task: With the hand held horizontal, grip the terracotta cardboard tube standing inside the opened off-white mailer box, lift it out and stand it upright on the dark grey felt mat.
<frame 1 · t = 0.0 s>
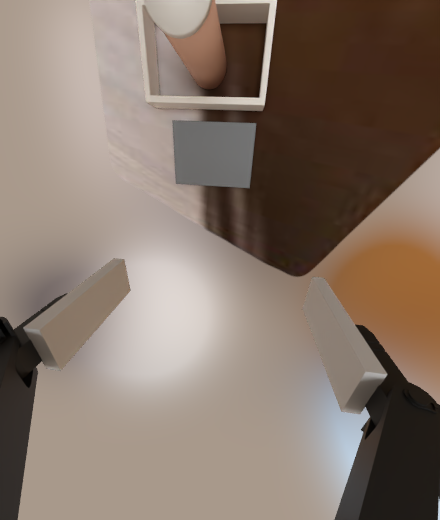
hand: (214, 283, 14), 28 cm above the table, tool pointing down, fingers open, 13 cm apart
tube: (197, 37, 23), in the mailer
felt mat: (213, 155, 35), on the table
mailer: (208, 66, 30), on the table
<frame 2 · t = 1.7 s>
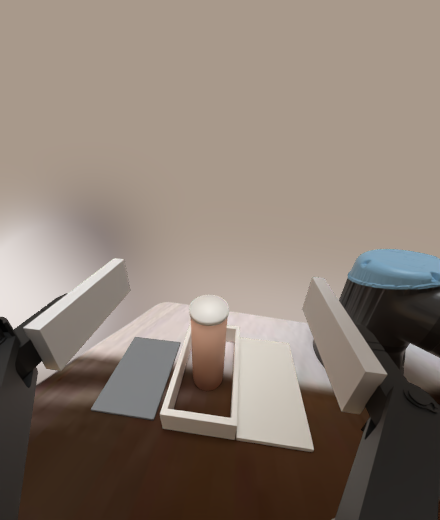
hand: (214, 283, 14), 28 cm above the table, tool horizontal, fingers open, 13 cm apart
tube: (208, 345, 33), in the mailer
felt mat: (142, 371, 37), on the table
mailer: (208, 375, 36), on the table
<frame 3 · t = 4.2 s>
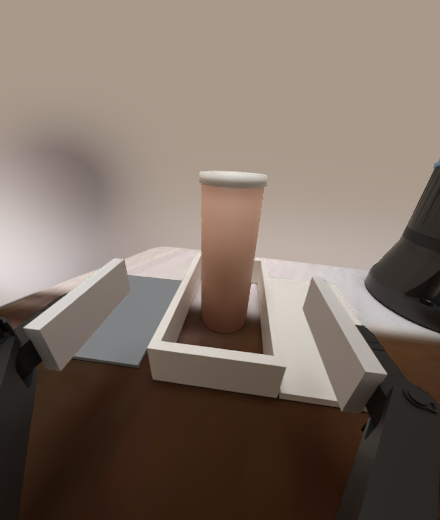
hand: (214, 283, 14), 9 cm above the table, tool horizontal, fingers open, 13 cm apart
tube: (227, 257, 21), in the mailer
felt mat: (127, 310, 25), on the table
mailer: (223, 315, 25), on the table
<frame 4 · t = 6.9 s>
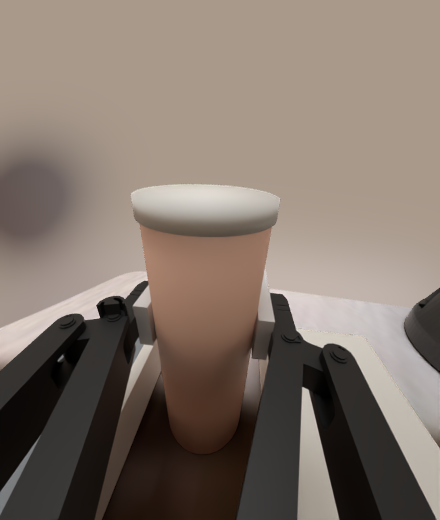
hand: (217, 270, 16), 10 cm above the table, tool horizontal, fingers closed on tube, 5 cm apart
tube: (205, 334, 12), in the mailer, touching gripper
felt mat: (52, 399, 16), on the table
mailer: (204, 407, 16), on the table
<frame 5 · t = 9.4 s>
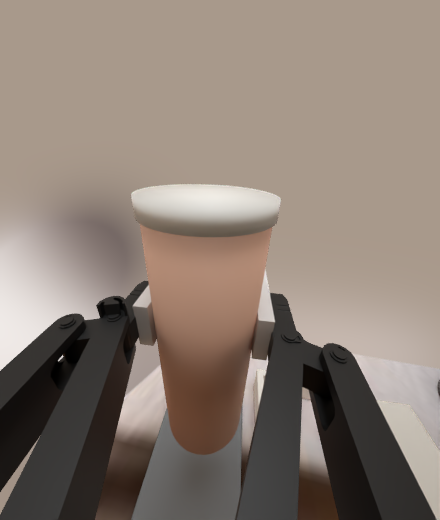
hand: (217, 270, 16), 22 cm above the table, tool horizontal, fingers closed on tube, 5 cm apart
tube: (206, 334, 12), point 21 cm above the table, touching gripper
felt mat: (195, 467, 22), on the table
mailer: (305, 474, 22), on the table
when the fingers open (11 cm above the table, at t = 12.3 s): tube drops 1 cm, resting on felt mat.
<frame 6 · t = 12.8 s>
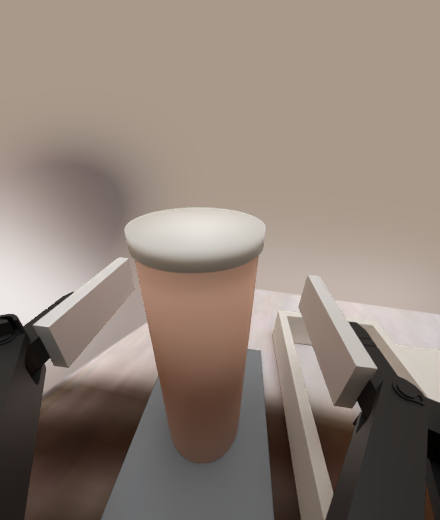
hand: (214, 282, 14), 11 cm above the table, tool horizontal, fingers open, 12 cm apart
tube: (202, 349, 12), on the felt mat
felt mat: (204, 419, 16), on the table
mailer: (351, 427, 16), on the table
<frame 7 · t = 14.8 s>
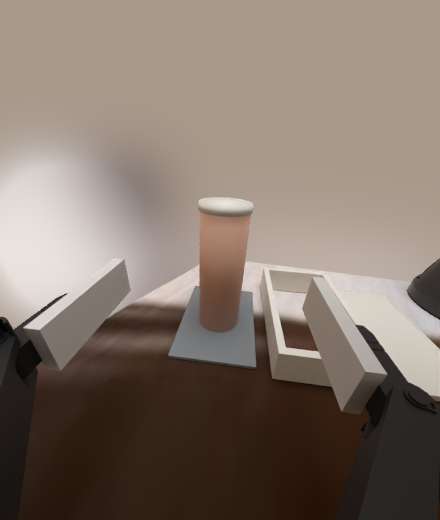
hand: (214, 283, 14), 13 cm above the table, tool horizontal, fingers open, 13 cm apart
tube: (221, 268, 25), on the felt mat
felt mat: (218, 319, 29), on the table
mailer: (301, 324, 29), on the table
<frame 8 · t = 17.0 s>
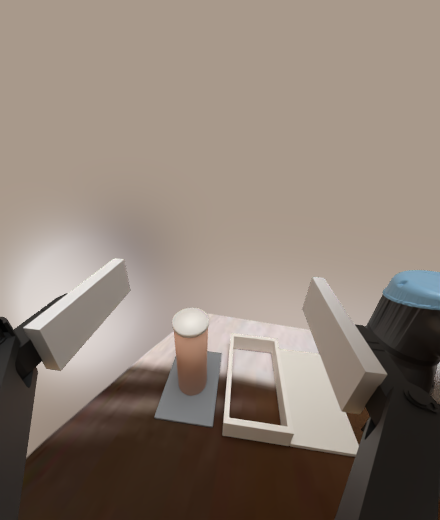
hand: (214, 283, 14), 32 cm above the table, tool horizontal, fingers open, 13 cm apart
tube: (191, 353, 36), on the felt mat
felt mat: (192, 381, 40), on the table
mailer: (253, 385, 39), on the table
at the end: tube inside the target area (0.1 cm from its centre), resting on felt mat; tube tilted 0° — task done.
